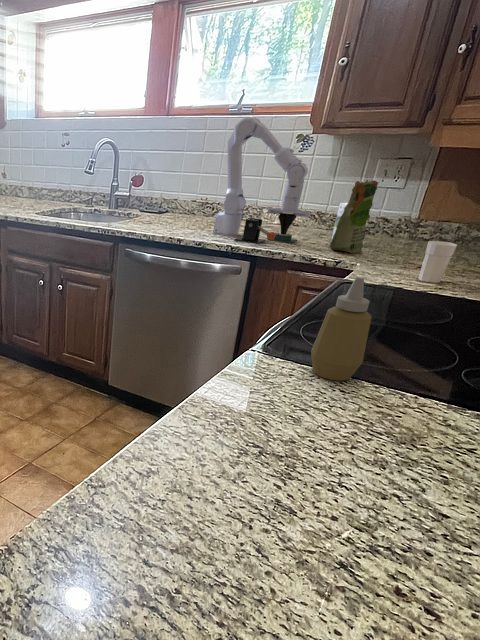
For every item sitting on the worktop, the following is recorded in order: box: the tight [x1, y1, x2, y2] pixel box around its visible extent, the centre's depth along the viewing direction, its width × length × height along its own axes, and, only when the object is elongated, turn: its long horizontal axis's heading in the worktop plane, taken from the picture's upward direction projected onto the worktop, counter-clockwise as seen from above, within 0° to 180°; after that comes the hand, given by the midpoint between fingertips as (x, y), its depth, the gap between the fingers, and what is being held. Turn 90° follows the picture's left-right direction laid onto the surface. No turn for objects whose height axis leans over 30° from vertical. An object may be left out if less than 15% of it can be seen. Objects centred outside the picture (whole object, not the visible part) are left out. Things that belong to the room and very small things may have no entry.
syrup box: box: [330, 202, 348, 241], centre depth 205 cm, size 6×6×14 cm
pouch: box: [328, 179, 379, 255], centre depth 185 cm, size 11×12×25 cm
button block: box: [266, 232, 298, 244], centre depth 204 cm, size 9×6×3 cm, turn 46°
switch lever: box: [252, 219, 276, 241], centre depth 199 cm, size 11×3×3 cm, turn 47°
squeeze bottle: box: [310, 276, 372, 382], centre depth 91 cm, size 8×8×18 cm
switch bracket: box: [234, 217, 267, 245], centre depth 201 cm, size 9×8×9 cm
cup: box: [417, 240, 458, 284], centre depth 153 cm, size 7×7×11 cm
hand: (283, 234), depth 203 cm, fingers closed, pressing on start button
